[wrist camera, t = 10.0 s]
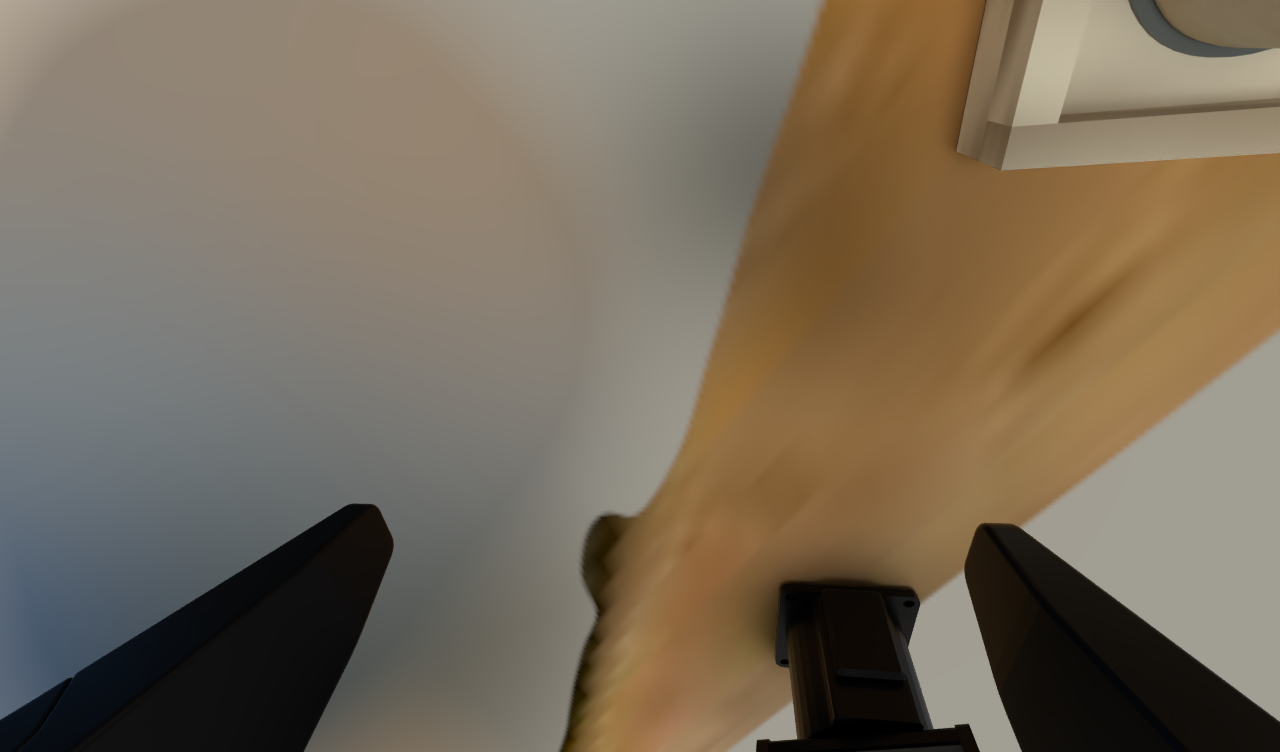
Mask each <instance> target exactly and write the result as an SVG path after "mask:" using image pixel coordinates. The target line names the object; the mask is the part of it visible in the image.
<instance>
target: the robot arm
mask: <svg viewBox="0 0 1280 752" xmlns="http://www.w3.org/2000/svg"><path fill="white" fill-rule="evenodd" d="M393 545H394V543H393V538H392V535H391V533H390V531H389V529H388V527H387V524H386V522H385V520H384V518H383V516H382V514H381V512H380V510H379V508H378V507H376V506H375V505H373V504H349V505H347V506H345V507H343V508H341V509H340V510H338V511H337V512H335V513H333V514H332V515H331V516H329V517H327V518H325V519H324V520H322V521H321V522H319V523H317V524H316V525H314V526H313V527H311V528H309V529H308V530H306V531H304V532H303V533H301V534H300V535H298V536H296V537H295V538H293V539H291V540H290V541H288V542H287V543H285V544H283V545H282V546H280V547H279V548H277V549H275V550H274V551H273V552H271V553H269V554H267V555H266V556H264V557H262V558H261V559H259V560H258V561H256V562H255V563H253V564H252V565H250V566H248V567H246V568H245V569H243V570H242V571H240V572H239V573H237V574H235V575H234V576H232V577H230V578H229V579H227V580H225V581H224V582H222V583H221V584H219V585H217V586H216V587H214V588H213V589H211V590H209V591H208V592H206V593H205V594H203V595H201V596H200V597H198V598H196V599H195V600H193V601H192V602H190V603H188V604H187V605H185V606H184V607H182V608H181V609H179V610H177V611H176V612H174V613H172V614H171V615H169V616H167V617H166V618H164V619H163V620H161V621H160V622H158V623H156V624H155V625H153V626H151V627H150V628H148V629H147V630H145V631H143V632H142V633H140V634H139V635H137V636H135V637H134V638H132V639H130V640H129V641H127V642H126V643H124V644H123V645H121V646H119V647H118V648H116V649H114V650H113V651H111V652H110V653H108V654H106V655H105V656H103V657H101V658H100V659H98V660H97V661H95V662H93V663H92V664H90V665H89V666H87V667H85V668H84V669H82V670H81V671H79V672H77V674H75V676H74V677H73V678H68V679H66V680H64V681H63V682H61V683H59V684H58V685H56V686H55V687H53V688H51V689H50V690H48V691H47V692H45V693H43V694H42V695H40V696H39V697H37V698H36V699H34V700H32V701H31V702H29V703H27V704H26V705H24V706H22V707H21V708H19V709H17V710H16V711H14V712H13V713H11V714H9V715H8V716H6V717H4V718H3V719H1V720H0V752H304V750H305V749H306V746H307V744H308V742H309V740H310V738H311V736H312V734H313V732H314V730H315V728H316V726H317V724H318V722H319V720H320V718H321V716H322V714H323V712H324V710H325V708H326V706H327V704H328V702H329V700H330V698H331V696H332V694H333V692H334V690H335V688H336V686H337V684H338V682H339V680H340V678H341V676H342V674H343V672H344V670H345V668H346V666H347V664H348V662H349V660H350V658H351V656H352V654H353V651H354V649H355V647H356V645H357V643H358V640H359V637H360V635H361V633H362V631H363V628H364V626H365V623H366V620H367V618H368V615H369V613H370V610H371V607H372V605H373V602H374V600H375V597H376V595H377V592H378V589H379V587H380V584H381V582H382V579H383V576H384V574H385V571H386V569H387V566H388V564H389V561H390V558H391V556H392V552H393ZM964 570H965V579H966V583H967V586H968V590H969V593H970V597H971V600H972V604H973V607H974V611H975V614H976V617H977V621H978V625H979V628H980V632H981V635H982V639H983V642H984V645H985V649H986V652H987V656H988V659H989V663H990V666H991V670H992V673H993V677H994V679H995V683H996V686H997V689H998V692H999V695H1000V697H1001V700H1002V703H1003V706H1004V709H1005V711H1006V714H1007V716H1008V719H1009V721H1010V724H1011V726H1012V729H1013V731H1014V733H1015V736H1016V739H1017V741H1018V743H1019V746H1020V748H1021V750H1022V752H1280V721H1278V720H1277V719H1276V718H1274V717H1273V716H1271V715H1270V714H1269V713H1268V712H1266V711H1265V710H1263V709H1262V708H1261V707H1259V706H1258V705H1257V704H1255V703H1254V702H1253V701H1251V700H1250V699H1249V698H1247V697H1246V696H1245V695H1243V694H1242V693H1241V692H1239V691H1238V690H1237V689H1235V688H1234V687H1233V686H1231V685H1230V684H1229V683H1227V682H1226V681H1225V680H1223V679H1222V678H1221V677H1219V676H1218V675H1216V674H1215V673H1214V672H1213V671H1211V670H1210V669H1208V668H1207V667H1206V666H1205V665H1203V664H1202V663H1201V662H1199V661H1198V660H1196V659H1195V658H1194V657H1192V656H1191V655H1190V654H1188V653H1187V652H1186V651H1184V650H1183V649H1182V648H1180V647H1179V646H1178V645H1176V644H1175V643H1174V642H1172V641H1171V640H1170V639H1168V638H1167V637H1166V636H1164V635H1163V634H1162V633H1160V632H1159V631H1158V630H1156V629H1155V628H1153V627H1152V626H1151V625H1149V624H1148V623H1147V622H1145V621H1144V620H1143V619H1142V618H1140V617H1139V616H1138V615H1136V614H1135V613H1134V612H1132V611H1131V610H1129V609H1128V608H1127V607H1125V606H1124V605H1123V604H1121V603H1120V602H1119V601H1117V600H1116V599H1115V598H1113V597H1112V596H1111V595H1109V594H1108V593H1107V592H1105V591H1104V590H1103V589H1101V588H1100V587H1098V586H1097V585H1096V584H1095V583H1093V582H1092V581H1091V580H1089V579H1088V578H1087V577H1085V576H1084V575H1083V574H1081V573H1080V572H1078V571H1077V570H1076V569H1074V568H1073V567H1072V566H1071V565H1069V564H1067V563H1066V562H1065V561H1064V560H1062V559H1061V558H1060V557H1058V556H1057V555H1056V554H1054V553H1053V552H1052V551H1050V550H1049V549H1048V548H1046V547H1045V546H1044V545H1042V544H1041V543H1040V542H1038V541H1037V540H1036V539H1034V538H1033V537H1032V536H1030V535H1029V534H1028V533H1026V532H1025V531H1024V530H1022V529H1021V528H1019V527H1018V526H1015V525H1013V524H1004V523H983V524H980V525H979V526H978V527H977V529H976V531H975V534H974V537H973V540H972V543H971V546H970V549H969V552H968V555H967V558H966V561H965V568H964ZM919 607H920V601H919V598H918V595H917V594H916V592H914V591H911V590H900V589H880V588H860V587H841V586H821V585H801V584H785V585H783V586H781V587H780V590H779V602H778V616H777V630H776V644H775V662H776V664H777V665H779V666H781V667H789V669H790V678H791V687H792V696H793V705H794V714H795V722H796V732H797V740H796V739H795V740H783V741H770V740H769V739H764V740H757V746H756V752H980V751H979V749H978V746H977V744H976V741H975V738H974V736H973V733H972V731H971V728H970V726H969V724H961V725H955V728H943V729H933V726H932V722H931V719H930V716H929V713H928V710H927V707H926V703H925V700H924V697H923V694H922V691H921V688H920V685H919V681H918V678H917V675H916V672H915V668H914V666H913V662H912V659H911V656H910V653H909V650H908V645H909V641H910V638H911V635H912V631H913V628H914V624H915V621H916V617H917V614H918V610H919Z"/></svg>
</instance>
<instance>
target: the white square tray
mask: <svg viewBox="0 0 1280 752" xmlns="http://www.w3.org/2000/svg"><path fill="white" fill-rule="evenodd" d="M956 152H958V153H961V154H963V155H966V156H968V157H970V158H973V159H975V160H977V161H980V162H982V163H985V164H987V165H989V166H992V167H994V168H997V169H999V170H1016V169H1032V168H1048V167H1063V166H1079V165H1095V164H1111V163H1127V162H1142V161H1158V160H1174V159H1190V158H1205V157H1221V156H1237V155H1253V154H1269V153H1280V48H1270V49H1268V48H1233V47H1221V46H1217V45H1213V44H1209V43H1205V42H1201V41H1197V40H1195V39H1193V38H1191V37H1188V36H1186V35H1184V34H1183V33H1181V32H1180V31H1178V30H1177V29H1176V28H1174V27H1173V26H1172V25H1171V24H1170V23H1169V22H1168V21H1167V20H1166V18H1165V17H1164V16H1163V14H1162V13H1161V11H1160V9H1159V8H1158V6H1157V4H1156V2H1155V0H987V1H986V6H985V11H984V16H983V21H982V26H981V31H980V36H979V41H978V46H977V51H976V56H975V61H974V66H973V71H972V76H971V81H970V86H969V90H968V95H967V100H966V105H965V110H964V115H963V120H962V125H961V130H960V135H959V140H958V145H957V150H956Z"/></svg>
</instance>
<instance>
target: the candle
mask: <svg viewBox="0 0 1280 752" xmlns="http://www.w3.org/2000/svg"><path fill="white" fill-rule="evenodd" d="M1155 2H1156V4H1157V6H1158V8H1159V9H1160V11H1161V13H1162V14H1163V16H1164V17H1165V18H1166V20H1167V21H1168V22H1169V23H1170V24H1171V25H1172V26H1173V27H1174V28H1176V29H1177V30H1178V31H1180V32H1181V33H1183V34H1184V35H1186V36H1188V37H1191V38H1193V39H1195V40H1197V41H1201V42H1205V43H1209V44H1213V45H1217V46H1221V47H1233V48H1268V49H1270V48H1280V0H1155Z"/></svg>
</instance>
